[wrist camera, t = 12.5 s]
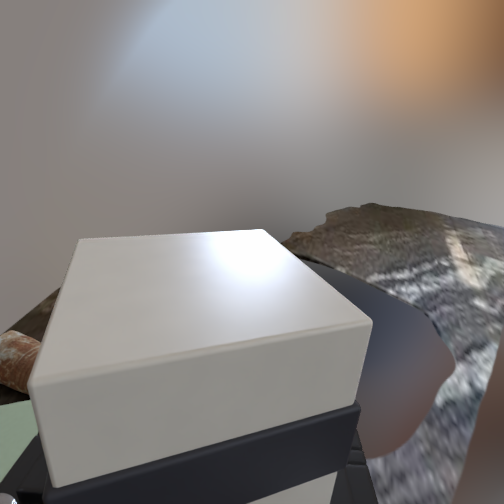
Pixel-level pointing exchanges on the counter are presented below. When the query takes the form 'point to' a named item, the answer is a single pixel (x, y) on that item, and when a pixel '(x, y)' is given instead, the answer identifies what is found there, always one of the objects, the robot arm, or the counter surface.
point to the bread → (17, 359)
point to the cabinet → (15, 432)
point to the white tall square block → (196, 374)
